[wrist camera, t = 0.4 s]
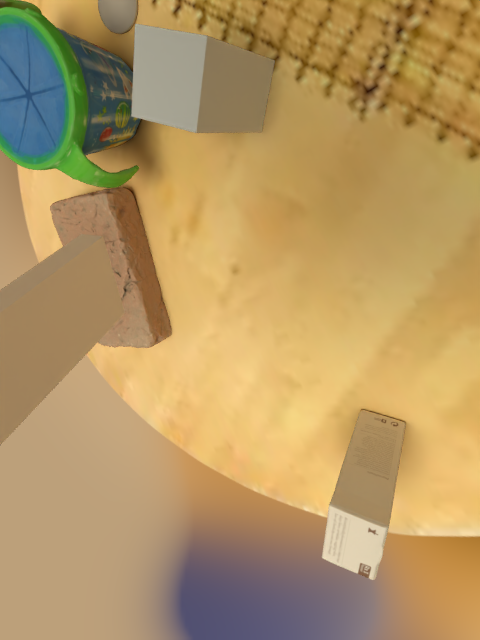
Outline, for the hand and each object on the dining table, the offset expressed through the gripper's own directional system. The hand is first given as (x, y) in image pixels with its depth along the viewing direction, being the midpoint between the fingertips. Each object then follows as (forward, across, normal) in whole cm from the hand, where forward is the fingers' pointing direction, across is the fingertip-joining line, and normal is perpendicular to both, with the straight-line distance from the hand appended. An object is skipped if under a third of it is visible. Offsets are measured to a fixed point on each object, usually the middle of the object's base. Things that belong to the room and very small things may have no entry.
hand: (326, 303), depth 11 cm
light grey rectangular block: (+26, -11, +1) cm, 29 cm away
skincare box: (+18, +4, -27) cm, 33 cm away
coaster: (+29, -23, +8) cm, 37 cm away
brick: (+25, -25, -15) cm, 38 cm away
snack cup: (+28, -24, 0) cm, 37 cm away
